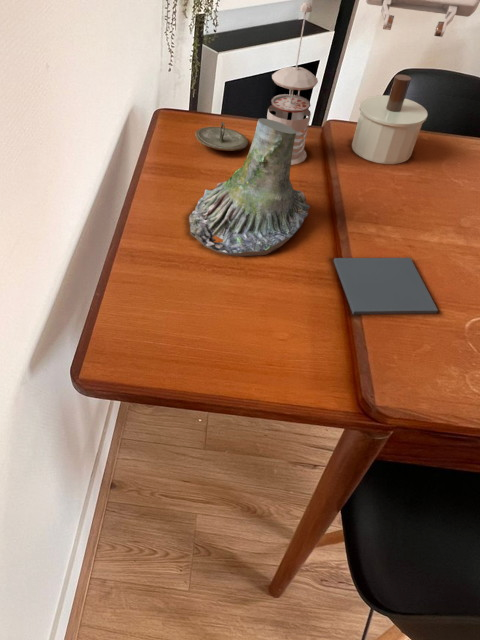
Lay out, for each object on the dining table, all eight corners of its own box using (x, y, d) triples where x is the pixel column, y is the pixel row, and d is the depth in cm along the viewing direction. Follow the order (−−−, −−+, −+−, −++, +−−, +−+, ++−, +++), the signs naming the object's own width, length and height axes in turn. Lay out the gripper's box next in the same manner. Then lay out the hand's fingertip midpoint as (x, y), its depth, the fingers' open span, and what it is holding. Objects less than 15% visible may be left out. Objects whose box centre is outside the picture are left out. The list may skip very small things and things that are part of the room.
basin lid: (412, 102, 105) (425, 65, 100) (435, 130, 97) (449, 92, 92) (351, 100, 104) (360, 63, 99) (368, 130, 96) (379, 90, 91)
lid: (186, 155, 104) (185, 134, 99) (209, 124, 108) (208, 102, 103) (235, 171, 101) (236, 150, 97) (256, 139, 105) (258, 117, 101)
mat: (408, 261, 82) (410, 257, 81) (436, 314, 74) (438, 310, 73) (333, 262, 81) (334, 257, 80) (352, 315, 73) (353, 311, 72)
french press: (253, 162, 100) (272, 7, 81) (263, 135, 108) (282, -13, 89) (304, 170, 99) (336, 14, 80) (310, 142, 107) (340, -6, 88)
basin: (399, 137, 110) (412, 99, 104) (418, 165, 102) (432, 126, 96) (345, 136, 109) (354, 98, 103) (359, 164, 101) (371, 125, 96)
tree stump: (162, 217, 88) (181, 100, 77) (248, 209, 99) (276, 106, 88) (231, 270, 77) (265, 144, 67) (319, 254, 89) (360, 145, 78)
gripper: (377, -66, 95) (358, 13, 96) (496, -54, 92) (475, 28, 93) (371, -41, 101) (354, 33, 102) (482, -28, 98) (463, 48, 99)
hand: (412, 31), depth 98 cm, fingers open, 8 cm apart
